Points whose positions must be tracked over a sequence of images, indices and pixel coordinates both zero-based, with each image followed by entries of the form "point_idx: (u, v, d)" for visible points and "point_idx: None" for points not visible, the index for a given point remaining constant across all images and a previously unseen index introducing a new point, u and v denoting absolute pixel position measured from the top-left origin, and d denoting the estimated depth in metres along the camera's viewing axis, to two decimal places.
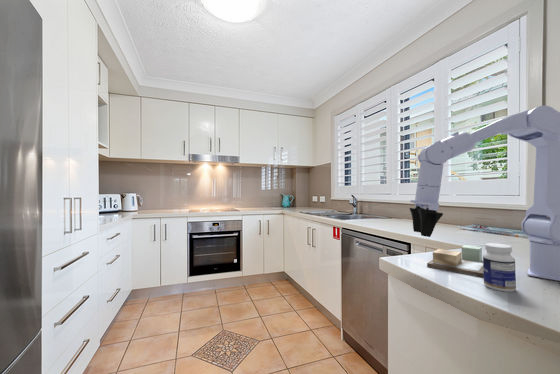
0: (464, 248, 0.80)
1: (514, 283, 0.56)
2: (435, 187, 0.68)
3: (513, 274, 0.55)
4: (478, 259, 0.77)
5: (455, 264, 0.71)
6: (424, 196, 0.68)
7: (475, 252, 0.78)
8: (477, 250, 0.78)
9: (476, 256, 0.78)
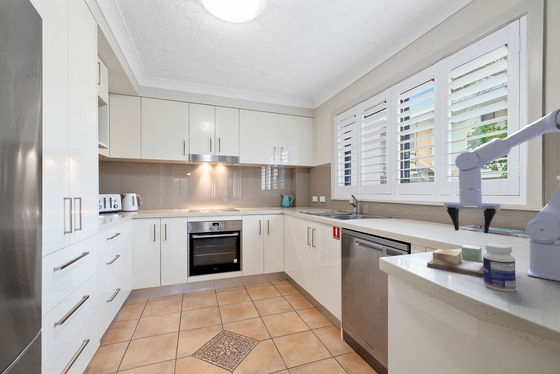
0: (464, 248, 0.80)
1: (514, 283, 0.56)
2: (459, 190, 0.82)
3: (513, 274, 0.55)
4: (478, 259, 0.77)
5: (455, 264, 0.71)
6: None
7: (475, 252, 0.78)
8: (477, 250, 0.78)
9: (476, 256, 0.78)
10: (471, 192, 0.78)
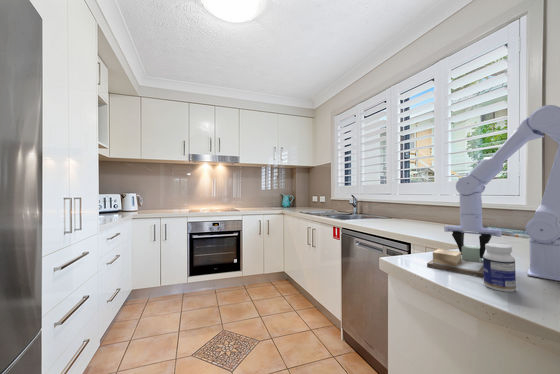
0: (464, 248, 0.80)
1: (514, 283, 0.56)
2: (460, 214, 0.82)
3: (513, 274, 0.55)
4: (478, 259, 0.77)
5: (455, 264, 0.71)
6: None
7: (475, 251, 0.78)
8: (477, 250, 0.78)
9: (476, 256, 0.78)
10: (472, 217, 0.78)
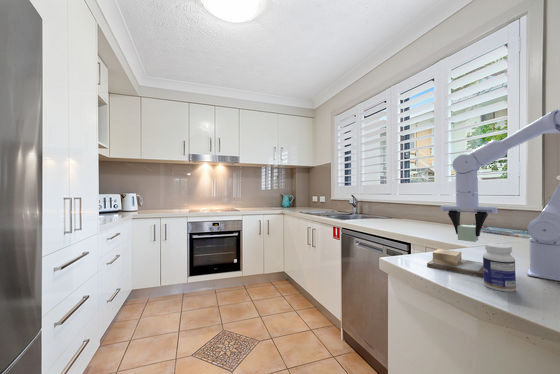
0: (460, 227, 0.79)
1: (514, 283, 0.56)
2: (456, 193, 0.81)
3: (513, 274, 0.55)
4: (474, 237, 0.77)
5: (455, 264, 0.71)
6: None
7: (471, 230, 0.77)
8: (473, 228, 0.77)
9: (472, 234, 0.77)
10: (467, 195, 0.78)
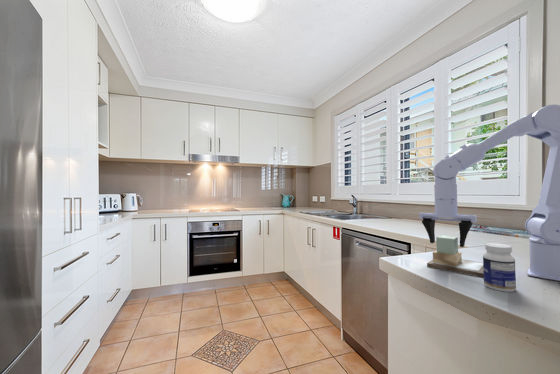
0: (439, 238, 0.75)
1: (514, 283, 0.56)
2: None
3: (513, 274, 0.55)
4: (453, 250, 0.72)
5: (455, 264, 0.71)
6: None
7: (450, 242, 0.73)
8: (452, 240, 0.73)
9: (451, 246, 0.73)
10: (446, 203, 0.73)
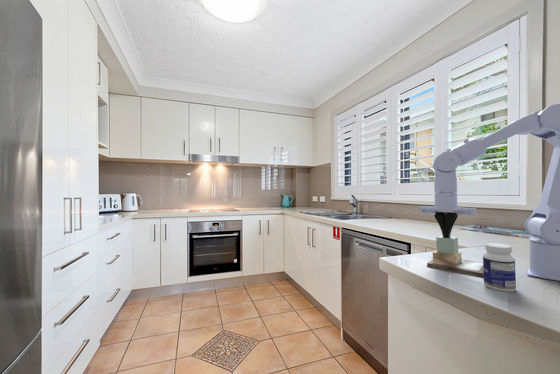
0: (439, 238, 0.75)
1: (514, 283, 0.56)
2: None
3: (513, 274, 0.55)
4: (453, 250, 0.72)
5: (455, 264, 0.71)
6: None
7: (450, 242, 0.73)
8: (452, 240, 0.73)
9: (451, 246, 0.73)
10: (446, 196, 0.73)
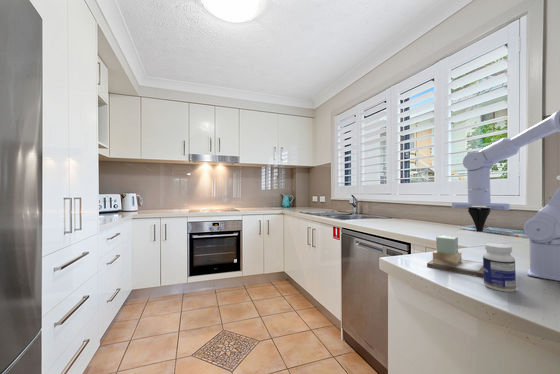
0: (439, 238, 0.75)
1: (514, 283, 0.56)
2: None
3: (513, 274, 0.55)
4: (453, 250, 0.72)
5: (455, 264, 0.71)
6: None
7: (450, 242, 0.73)
8: (452, 240, 0.73)
9: (451, 246, 0.73)
10: (480, 192, 0.78)
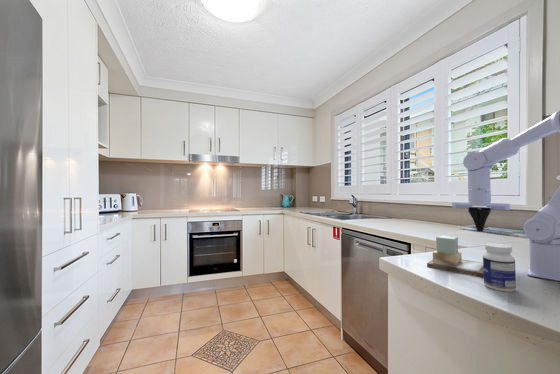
0: (439, 238, 0.75)
1: (514, 283, 0.56)
2: None
3: (513, 274, 0.55)
4: (453, 250, 0.72)
5: (455, 264, 0.71)
6: None
7: (450, 242, 0.73)
8: (452, 240, 0.73)
9: (451, 246, 0.73)
10: (480, 192, 0.78)
